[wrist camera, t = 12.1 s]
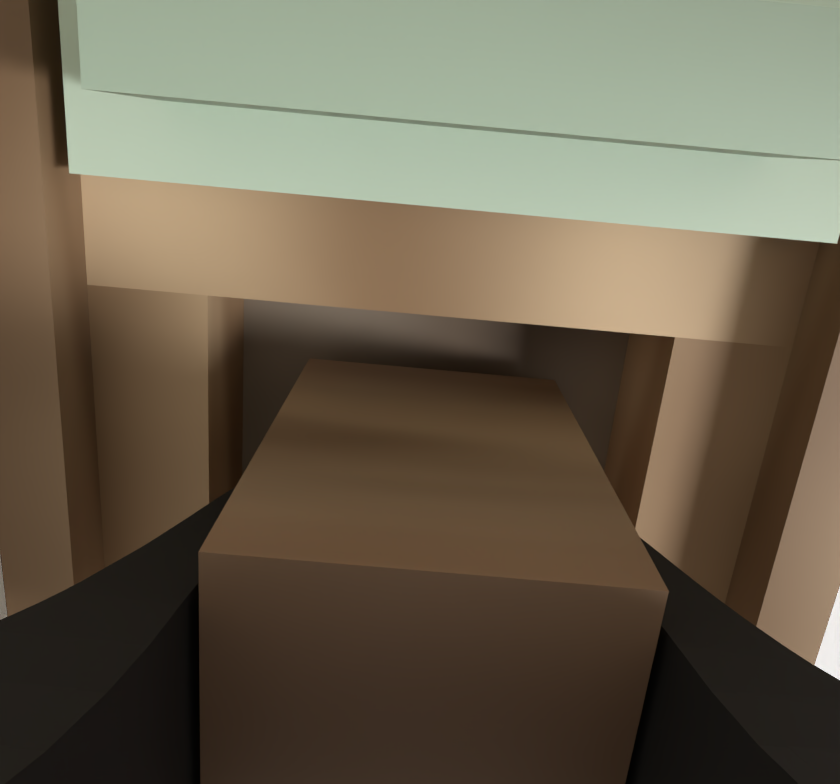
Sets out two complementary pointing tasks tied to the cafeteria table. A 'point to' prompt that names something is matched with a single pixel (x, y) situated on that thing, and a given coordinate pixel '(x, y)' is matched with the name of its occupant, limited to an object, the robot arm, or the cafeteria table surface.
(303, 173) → the cover
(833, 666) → the cafeteria table surface
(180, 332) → the tan wooden frame
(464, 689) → the block
